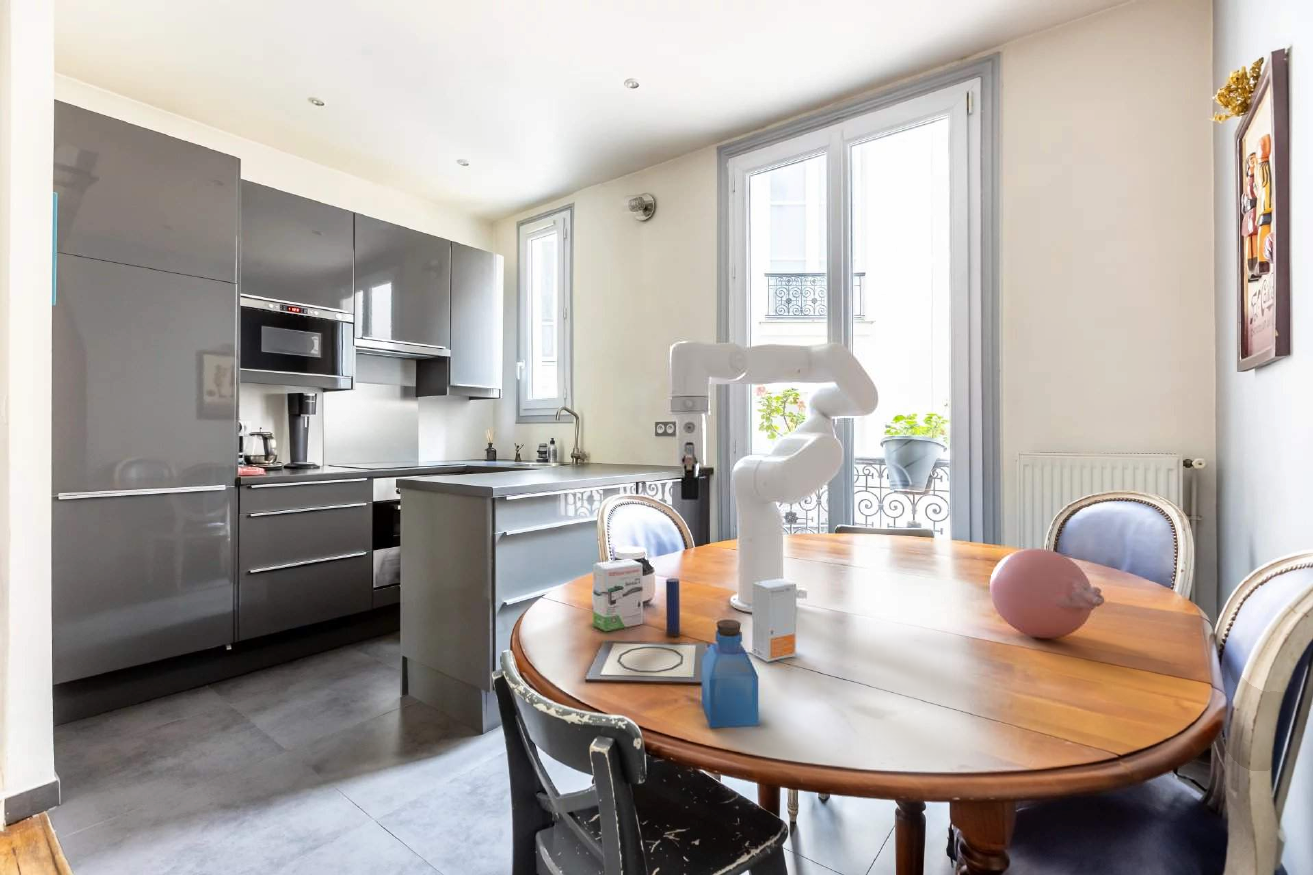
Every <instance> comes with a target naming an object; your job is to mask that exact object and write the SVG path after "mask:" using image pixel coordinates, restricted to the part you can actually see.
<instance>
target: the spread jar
mask: <svg viewBox="0 0 1313 875" xmlns="http://www.w3.org/2000/svg"><path fill="white" fill-rule="evenodd" d="M624 559H632V560H634V561H636V562H638V563H641V564H642V575H643V608H645V607H646V606H648V605H649V604H650V603H651V602H652V601H653V599H654V597H655V595H656V587H657V586H656V569H655V567H654V565H653V563H652V562H651V561H650V560H649V559H648V557H647V548H645V547H642V546H620V547H617V548H615V549H614V559H612V561H617V560H624ZM590 598H591V603H592V604H593V588H592V589H591V597H590Z"/></svg>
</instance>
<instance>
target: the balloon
mask: <svg viewBox="0 0 1313 875" xmlns="http://www.w3.org/2000/svg"><path fill="white" fill-rule="evenodd" d="M1101 593H1102V589H1101V588H1100V587H1097V586H1092V585H1091V583H1090V580H1089V578H1088V577H1087V575H1086V573H1085V572H1084V571H1083V569H1082V568H1080V566H1079V565H1078V564H1077V563H1075V562H1074V561H1073V560H1072V559H1070V558H1069V557H1067V556H1065V555H1063V554H1061V553H1059V552H1056V551H1053V550H1051V549H1045V548H1036V547H1035V548H1034V547H1033V548H1024V549H1020V550H1017V551H1014V552H1012V553H1010V554H1008V555H1007V556H1005V557H1004V558H1002V559H1001V560H1000V561H999V563H997V565H996V566H995V567H994V569H993V571H992V574H991V577H990V581H989V594H990V598H991V601H992V604H993V606H994V609H995V610H996V612H997V614H998V615H999V616H1000V617H1001V618H1002V620H1004V622H1005V623H1007V624H1008V625H1009V626H1010V627H1012V628H1014V629H1015V630H1017V631H1019V632H1020V633H1022V634H1023V635H1024V634H1025V635H1027V636H1030V637H1033V638H1039V639H1058V638H1062V637H1066V636H1069V635H1071V634H1073V633H1075V632H1076V631H1078V630H1079V629H1080V628H1082V627H1083V625H1084V624H1086V622H1087V620H1088V619H1089V617H1090V615H1091V613H1092V611H1094V610H1095V608H1096V607H1100V606H1103V604H1104V603H1105V600H1106V599H1105V597H1104V596H1103V595H1101Z"/></svg>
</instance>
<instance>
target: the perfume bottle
mask: <svg viewBox="0 0 1313 875" xmlns="http://www.w3.org/2000/svg"><path fill="white" fill-rule="evenodd" d="M741 625H742V624H741V622H740V621H738V620H735V619H722V620H721V619H720V620H718V621H716V628H717V629H716V631H715V642H716V643H710V645H709V646H708V647H707V652H706V653H705V655H704V657H703V658H702V685H701V706H702V709H703V712H704V715H705V718H706V721H707V724H708V726H709V729H715V728H717V729H718V728H734V727H735V728H736V727H754V726H759V724H760V723H759V721H760V720H759V719H760V718H759V717H760V716H759V675H758V673H757V670H756V669H755V667H754V665H753V663H752V661H751V658H750V656H749V654H748V653H747V650H746V649H745V647H744V646H743V644H742V642H743V633H742V631H741Z"/></svg>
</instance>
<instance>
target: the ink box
mask: <svg viewBox="0 0 1313 875" xmlns="http://www.w3.org/2000/svg"><path fill="white" fill-rule="evenodd" d="M592 574H593V575H592V577H593V579H592V580H593V581H592V589H593V603H592V608H593V611H592V613H593V614H592V615H593V618H592V620H593V622H592V625H593V626H594V627H596V628H598V629H600V630H602V631H604V632H610V631H611V632H612V631H615V630H619V629H624V628H630V627H635V626H638V625H643V624H644V607H643V575H642V564H641V563H638V562H636V561H634V560H632V559H624V560H617V561H613V560H610V561H609V560H608V561H601V562H596V563H595V564H593V565H592Z"/></svg>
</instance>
